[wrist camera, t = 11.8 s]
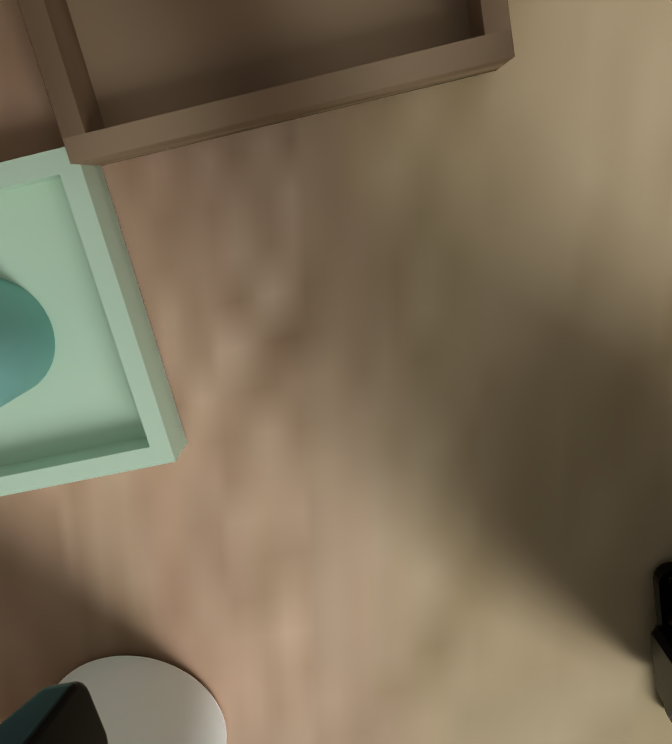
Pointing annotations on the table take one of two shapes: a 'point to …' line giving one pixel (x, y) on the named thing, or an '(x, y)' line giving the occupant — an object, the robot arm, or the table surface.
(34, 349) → the peg
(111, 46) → the tray
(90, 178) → the tray
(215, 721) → the cup
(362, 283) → the table surface
